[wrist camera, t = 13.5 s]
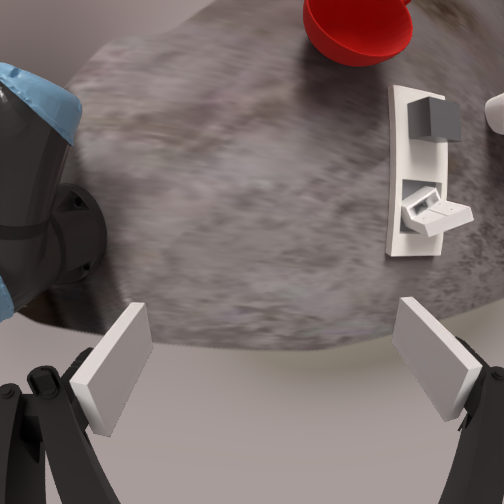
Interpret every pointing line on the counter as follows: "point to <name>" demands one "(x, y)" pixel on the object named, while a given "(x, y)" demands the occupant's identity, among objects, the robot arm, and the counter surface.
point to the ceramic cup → (358, 29)
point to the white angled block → (433, 212)
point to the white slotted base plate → (417, 161)
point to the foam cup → (495, 113)
